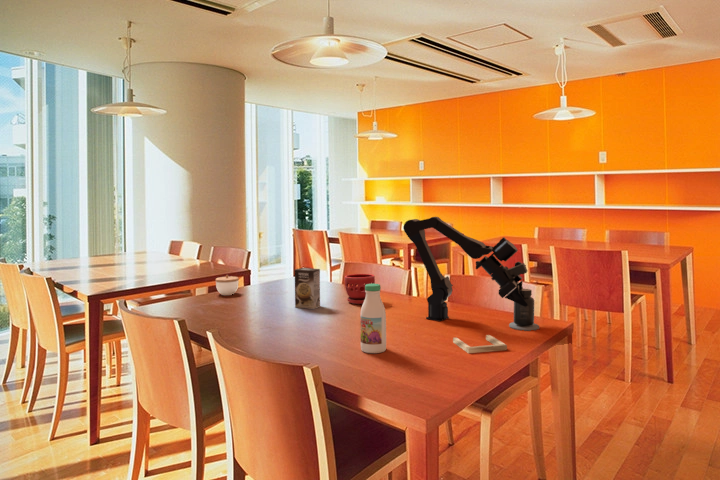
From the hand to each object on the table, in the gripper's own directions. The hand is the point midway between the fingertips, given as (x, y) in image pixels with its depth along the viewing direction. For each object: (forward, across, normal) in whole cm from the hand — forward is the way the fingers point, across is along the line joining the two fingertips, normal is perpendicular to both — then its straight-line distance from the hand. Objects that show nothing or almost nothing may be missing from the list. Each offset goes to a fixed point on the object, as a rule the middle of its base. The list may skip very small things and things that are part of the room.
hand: (528, 303), depth 170 cm
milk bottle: (-22, -44, +34) cm, 60 cm away
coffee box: (-56, -1, +69) cm, 89 cm away
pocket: (-2, -27, +14) cm, 31 cm away
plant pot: (-44, +16, +57) cm, 74 cm away
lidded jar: (-91, +9, +105) cm, 139 cm away
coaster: (+5, 0, +7) cm, 8 cm away
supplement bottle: (+4, 0, +6) cm, 7 cm away
